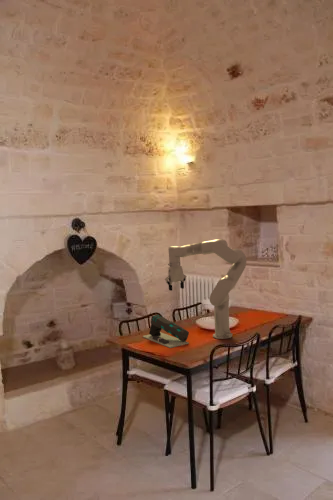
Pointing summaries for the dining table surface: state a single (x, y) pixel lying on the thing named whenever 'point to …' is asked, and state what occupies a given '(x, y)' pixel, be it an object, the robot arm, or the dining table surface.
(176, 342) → the mat
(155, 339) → the bound lead
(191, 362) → the dining table surface
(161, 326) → the gun
